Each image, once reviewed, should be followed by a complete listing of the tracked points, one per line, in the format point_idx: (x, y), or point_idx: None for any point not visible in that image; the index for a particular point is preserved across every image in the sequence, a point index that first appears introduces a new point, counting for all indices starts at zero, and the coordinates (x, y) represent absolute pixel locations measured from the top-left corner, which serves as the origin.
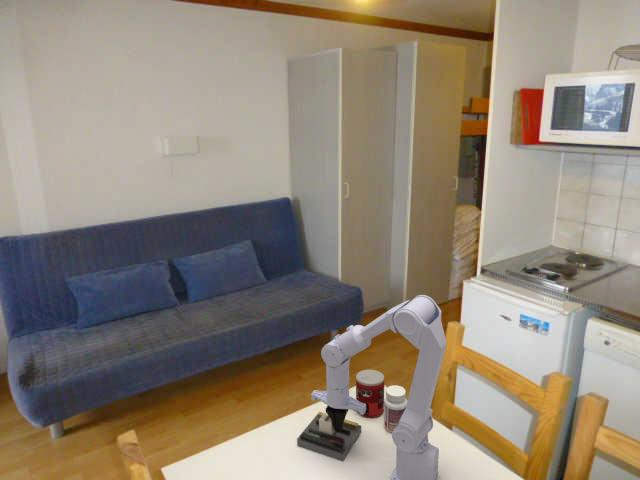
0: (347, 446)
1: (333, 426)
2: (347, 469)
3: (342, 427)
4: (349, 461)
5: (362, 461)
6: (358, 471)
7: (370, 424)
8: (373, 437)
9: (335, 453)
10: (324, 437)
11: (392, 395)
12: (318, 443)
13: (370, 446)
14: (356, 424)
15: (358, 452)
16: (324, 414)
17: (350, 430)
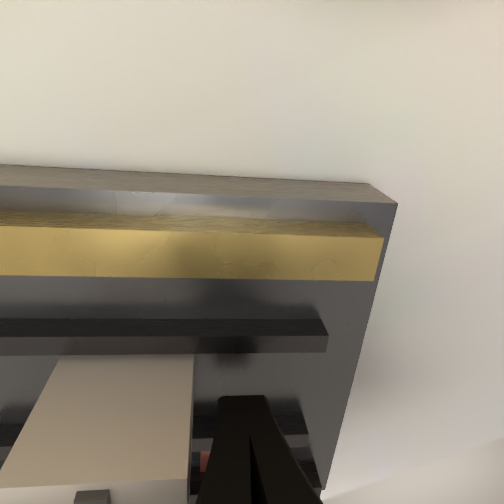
0: (335, 437)
1: (190, 452)
2: (348, 470)
3: (246, 337)
4: (346, 432)
5: (414, 408)
6: (403, 459)
7: (434, 36)
8: (468, 204)
9: None
10: None
11: None
12: None
13: (450, 295)
14: (371, 263)
15: (382, 365)
16: (14, 498)
17: (327, 337)
